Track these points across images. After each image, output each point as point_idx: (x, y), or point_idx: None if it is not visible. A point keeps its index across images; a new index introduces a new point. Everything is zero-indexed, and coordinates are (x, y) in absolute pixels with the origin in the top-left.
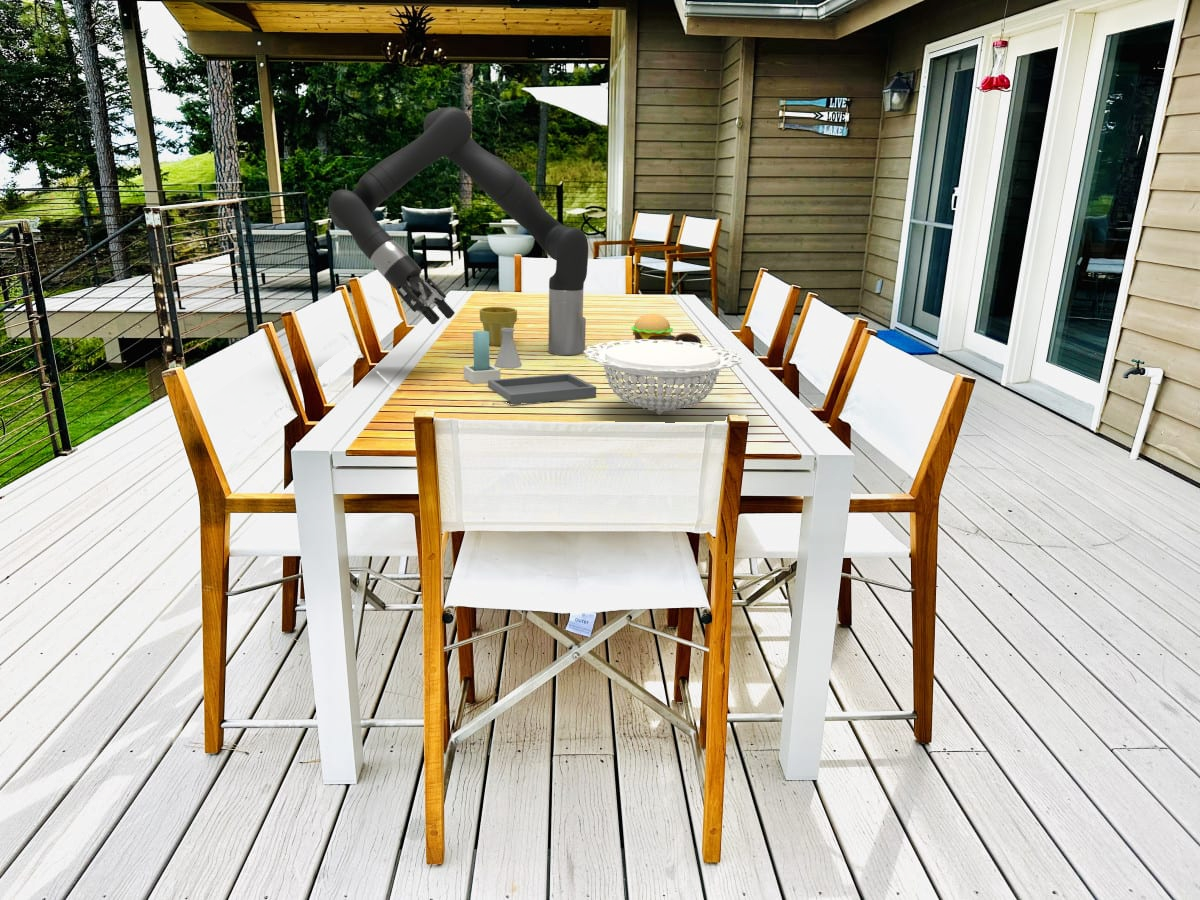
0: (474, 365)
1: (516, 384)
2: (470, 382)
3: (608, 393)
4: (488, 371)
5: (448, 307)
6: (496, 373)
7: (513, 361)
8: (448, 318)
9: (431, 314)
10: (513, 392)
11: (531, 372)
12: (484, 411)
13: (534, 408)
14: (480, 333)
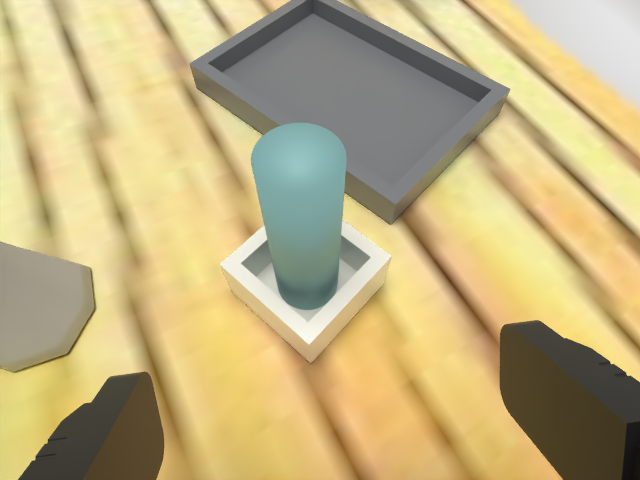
0: (333, 271)
1: None
2: (368, 296)
3: (263, 5)
4: None
5: (117, 423)
6: None
7: (54, 257)
8: (163, 443)
9: (612, 364)
10: (410, 134)
11: (81, 215)
12: (592, 138)
13: (481, 68)
14: (340, 143)
